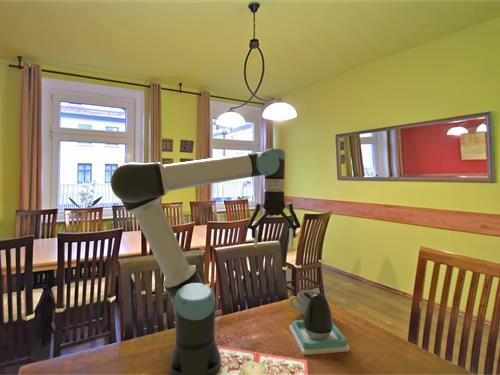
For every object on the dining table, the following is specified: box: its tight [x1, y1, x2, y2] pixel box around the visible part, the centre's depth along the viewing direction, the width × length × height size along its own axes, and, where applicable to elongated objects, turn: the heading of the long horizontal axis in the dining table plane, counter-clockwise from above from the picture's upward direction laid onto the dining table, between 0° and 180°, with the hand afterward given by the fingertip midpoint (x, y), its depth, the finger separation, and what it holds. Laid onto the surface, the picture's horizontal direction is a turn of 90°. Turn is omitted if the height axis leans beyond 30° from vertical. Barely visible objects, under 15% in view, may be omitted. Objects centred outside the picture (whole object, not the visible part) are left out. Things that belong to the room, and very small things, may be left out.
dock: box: [288, 319, 351, 356], centre depth 102 cm, size 16×16×3 cm
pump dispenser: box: [302, 292, 334, 340], centre depth 101 cm, size 10×10×15 cm
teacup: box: [289, 289, 319, 316], centre depth 120 cm, size 14×11×8 cm
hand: (273, 246), depth 109 cm, fingers open, 13 cm apart
